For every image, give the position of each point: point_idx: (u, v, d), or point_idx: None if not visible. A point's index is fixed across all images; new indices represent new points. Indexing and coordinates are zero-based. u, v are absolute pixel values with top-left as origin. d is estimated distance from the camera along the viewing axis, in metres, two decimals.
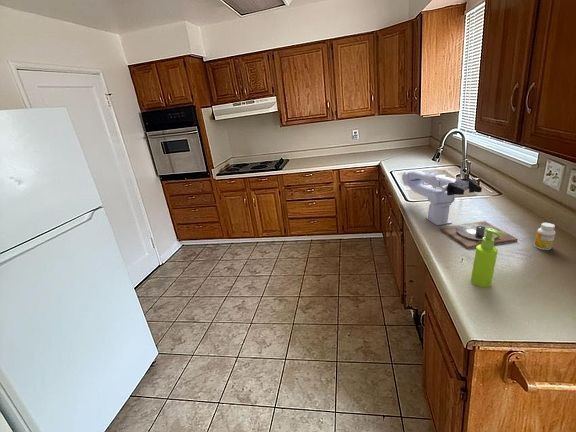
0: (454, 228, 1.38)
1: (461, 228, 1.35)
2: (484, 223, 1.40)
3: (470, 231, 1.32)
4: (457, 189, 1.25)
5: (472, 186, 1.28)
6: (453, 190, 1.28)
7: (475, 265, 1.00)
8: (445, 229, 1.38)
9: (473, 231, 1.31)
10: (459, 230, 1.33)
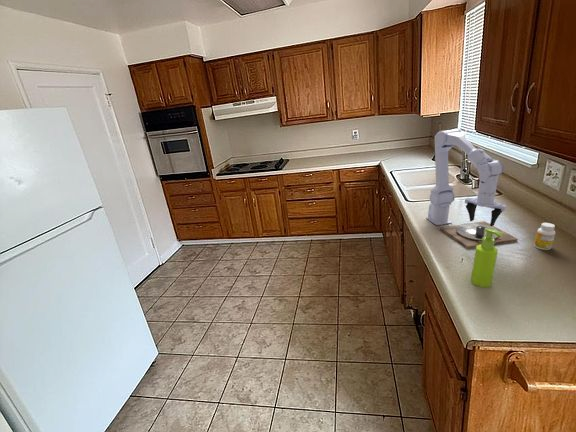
0: (454, 228, 1.38)
1: (461, 228, 1.35)
2: (484, 223, 1.40)
3: (470, 231, 1.32)
4: None
5: None
6: None
7: (475, 265, 1.00)
8: (445, 229, 1.38)
9: (473, 231, 1.31)
10: (459, 230, 1.33)
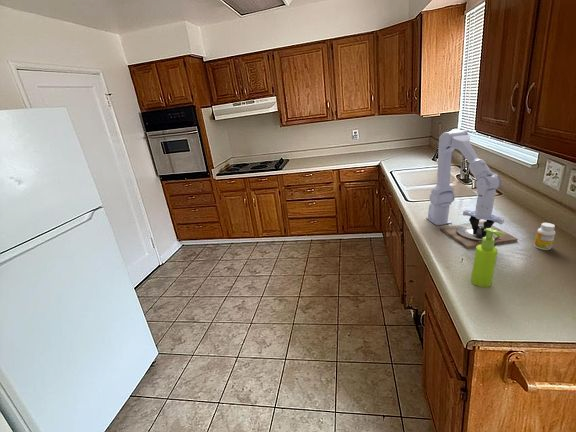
0: (454, 228, 1.38)
1: (461, 228, 1.35)
2: None
3: (470, 231, 1.32)
4: None
5: None
6: None
7: (475, 265, 1.00)
8: (445, 229, 1.38)
9: None
10: (459, 230, 1.33)
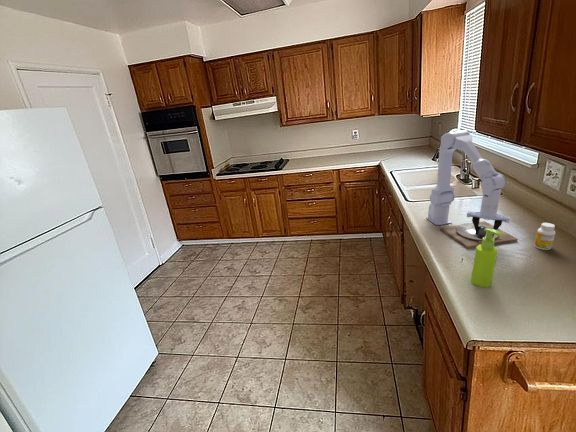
0: (454, 228, 1.38)
1: (461, 229, 1.34)
2: (484, 223, 1.40)
3: (470, 231, 1.31)
4: None
5: None
6: None
7: (475, 265, 1.00)
8: (445, 229, 1.38)
9: (473, 231, 1.31)
10: (459, 231, 1.33)
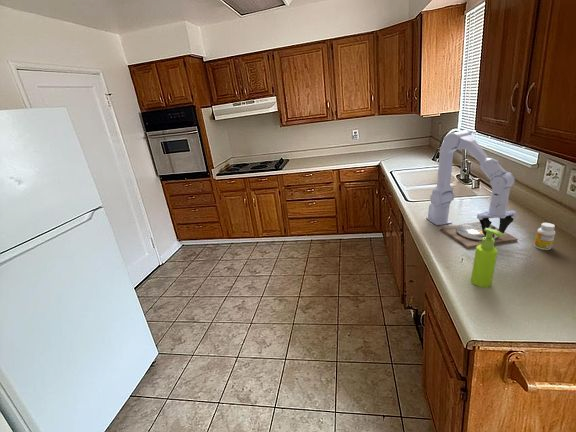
0: (454, 228, 1.38)
1: (464, 232, 1.31)
2: None
3: (474, 233, 1.30)
4: (485, 228, 1.24)
5: (503, 222, 1.24)
6: None
7: (475, 265, 1.00)
8: (445, 229, 1.38)
9: (476, 232, 1.31)
10: (465, 234, 1.30)
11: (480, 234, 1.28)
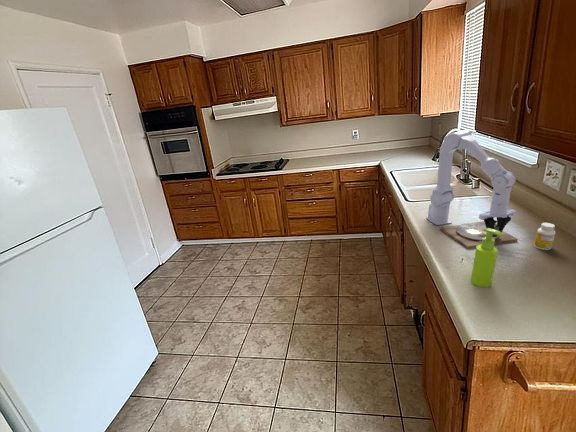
0: (454, 228, 1.38)
1: (468, 234, 1.30)
2: (484, 223, 1.40)
3: (476, 233, 1.29)
4: (490, 227, 1.25)
5: (501, 222, 1.24)
6: None
7: (475, 265, 1.00)
8: (445, 229, 1.38)
9: (477, 232, 1.30)
10: (471, 236, 1.28)
11: (483, 234, 1.28)
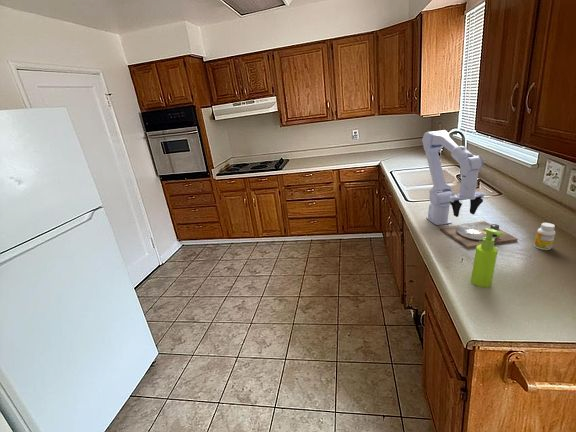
0: (454, 228, 1.38)
1: (468, 234, 1.30)
2: (484, 223, 1.40)
3: (476, 233, 1.29)
4: (456, 210, 1.29)
5: (474, 203, 1.29)
6: None
7: (475, 265, 1.00)
8: (445, 229, 1.38)
9: (477, 232, 1.30)
10: (471, 236, 1.28)
11: (483, 234, 1.28)
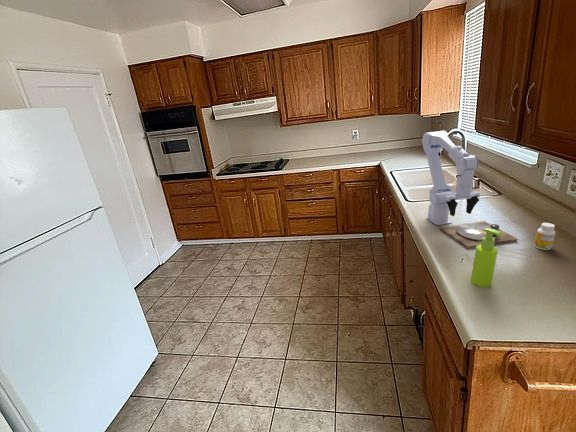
0: (454, 228, 1.38)
1: (468, 234, 1.30)
2: (484, 223, 1.40)
3: (476, 233, 1.29)
4: (452, 209, 1.30)
5: (470, 203, 1.30)
6: None
7: (475, 265, 1.00)
8: (445, 229, 1.38)
9: (477, 232, 1.30)
10: (471, 236, 1.28)
11: (483, 234, 1.28)
